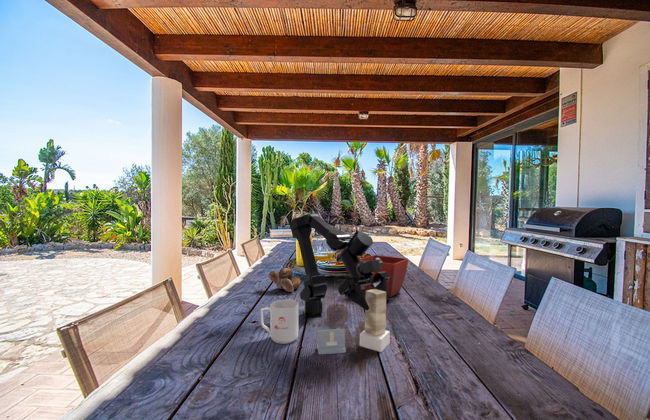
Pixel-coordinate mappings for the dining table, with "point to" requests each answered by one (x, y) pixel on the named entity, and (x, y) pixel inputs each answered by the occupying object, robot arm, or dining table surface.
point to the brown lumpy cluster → (285, 279)
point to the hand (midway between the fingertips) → (378, 306)
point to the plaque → (331, 341)
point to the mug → (282, 321)
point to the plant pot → (390, 272)
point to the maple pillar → (375, 312)
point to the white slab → (374, 340)
